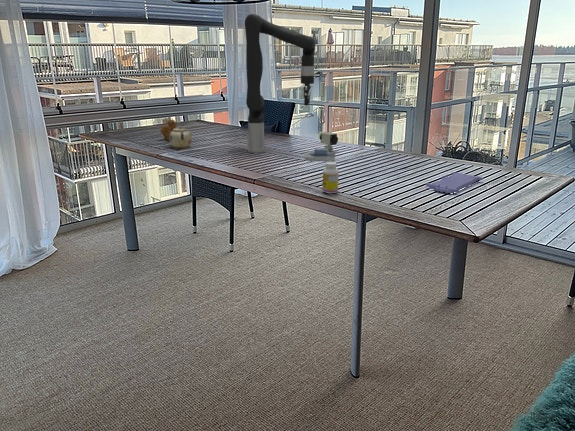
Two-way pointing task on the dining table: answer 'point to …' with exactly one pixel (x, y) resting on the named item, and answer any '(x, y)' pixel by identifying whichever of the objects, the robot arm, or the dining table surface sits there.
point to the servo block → (320, 152)
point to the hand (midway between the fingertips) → (307, 104)
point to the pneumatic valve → (328, 140)
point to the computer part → (453, 182)
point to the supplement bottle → (330, 178)
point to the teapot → (180, 138)
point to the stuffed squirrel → (168, 129)
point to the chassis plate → (320, 157)
